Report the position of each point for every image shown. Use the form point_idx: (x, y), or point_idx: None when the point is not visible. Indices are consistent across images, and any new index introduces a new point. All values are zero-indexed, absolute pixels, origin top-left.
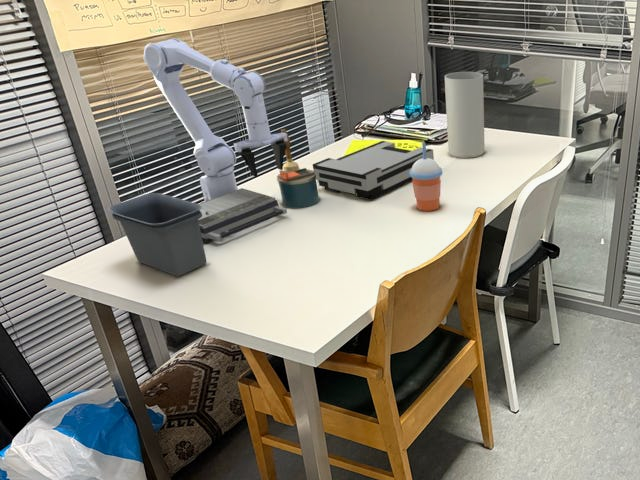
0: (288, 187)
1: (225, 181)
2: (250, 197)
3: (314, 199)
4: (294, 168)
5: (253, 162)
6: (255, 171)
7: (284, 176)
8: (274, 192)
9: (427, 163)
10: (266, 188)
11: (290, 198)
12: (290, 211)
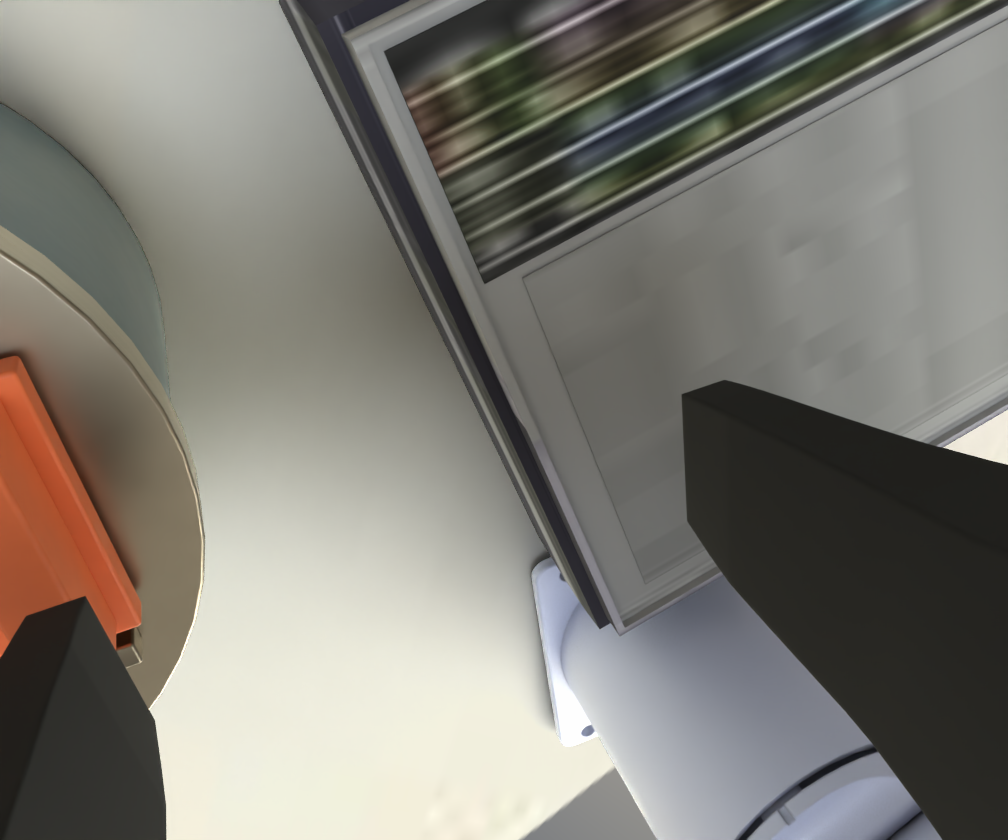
0: (9, 230)
1: (814, 696)
2: (651, 293)
3: None
4: None
5: (1000, 510)
6: (781, 417)
7: (30, 464)
8: (202, 730)
9: None
10: (261, 835)
11: (35, 171)
12: (98, 2)
